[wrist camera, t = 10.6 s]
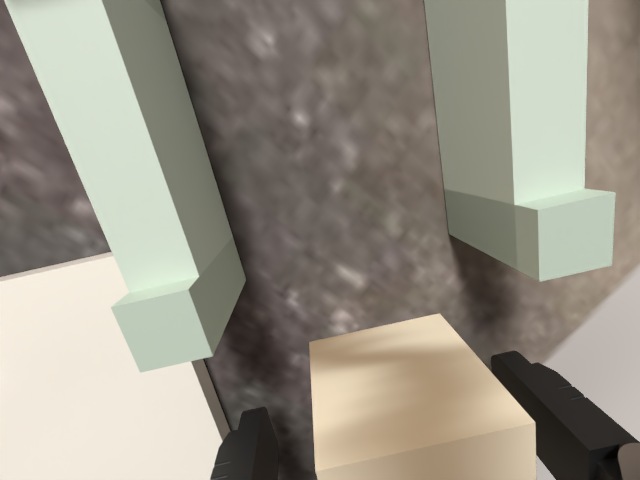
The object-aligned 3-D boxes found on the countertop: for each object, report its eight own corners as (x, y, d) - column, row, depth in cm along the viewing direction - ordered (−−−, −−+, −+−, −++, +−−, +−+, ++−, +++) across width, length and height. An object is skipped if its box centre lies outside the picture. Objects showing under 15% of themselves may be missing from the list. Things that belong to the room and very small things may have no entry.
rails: (201, 290, 11) (140, 373, 7) (85, -34, 8) (-131, -224, 4) (493, 223, 11) (612, 265, 7) (471, -121, 8) (644, -400, 4)
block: (343, 475, 14) (367, 652, 9) (309, 340, 12) (315, 471, 7) (454, 450, 14) (538, 613, 9) (438, 311, 12) (535, 422, 7)
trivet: (10, 519, 13) (-9, 542, 12) (-139, 308, 10) (-175, 321, 9) (243, 465, 13) (239, 485, 12) (158, 241, 10) (146, 248, 9)
